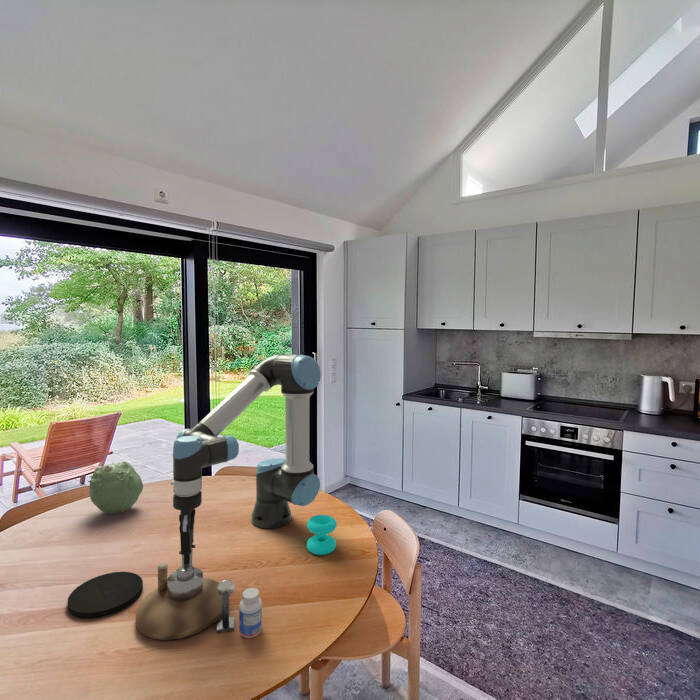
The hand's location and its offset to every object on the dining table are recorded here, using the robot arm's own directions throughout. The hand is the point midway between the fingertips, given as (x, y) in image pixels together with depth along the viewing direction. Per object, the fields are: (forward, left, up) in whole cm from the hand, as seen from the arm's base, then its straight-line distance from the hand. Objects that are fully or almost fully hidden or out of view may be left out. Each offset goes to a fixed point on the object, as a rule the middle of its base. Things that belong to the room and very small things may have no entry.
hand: (187, 572), depth 120 cm
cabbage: (+33, -56, -4) cm, 65 cm away
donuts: (-41, -12, -4) cm, 43 cm away
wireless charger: (+21, 0, -5) cm, 21 cm away
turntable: (0, +11, -4) cm, 12 cm away
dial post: (-11, +19, -4) cm, 22 cm away
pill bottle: (-17, +22, -4) cm, 28 cm away
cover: (0, +6, -2) cm, 6 cm away
